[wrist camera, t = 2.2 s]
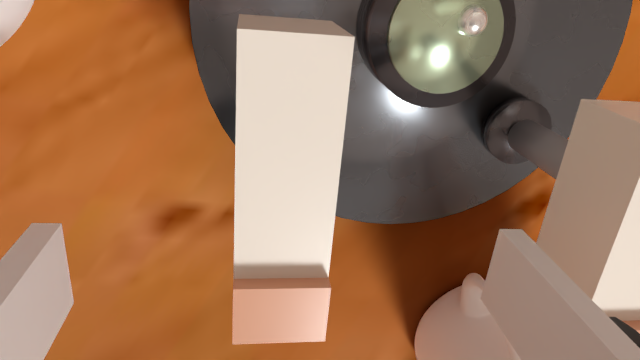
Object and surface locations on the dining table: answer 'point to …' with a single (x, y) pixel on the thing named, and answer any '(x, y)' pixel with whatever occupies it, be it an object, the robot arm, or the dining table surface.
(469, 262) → the dining table surface
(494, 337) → the mug
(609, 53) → the base
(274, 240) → the handle
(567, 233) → the handle
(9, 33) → the mug
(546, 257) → the robot arm
